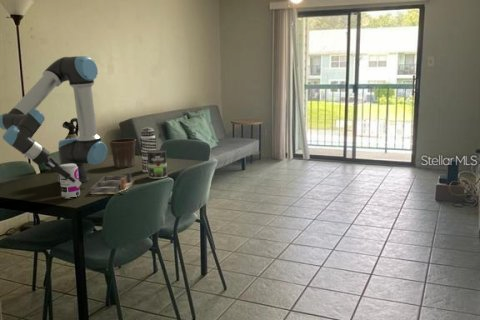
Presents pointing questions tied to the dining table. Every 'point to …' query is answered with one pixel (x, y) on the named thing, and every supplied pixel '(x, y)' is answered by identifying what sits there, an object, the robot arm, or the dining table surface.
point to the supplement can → (66, 186)
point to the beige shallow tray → (112, 184)
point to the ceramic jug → (71, 128)
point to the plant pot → (123, 152)
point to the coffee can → (157, 164)
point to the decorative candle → (147, 145)
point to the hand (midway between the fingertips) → (77, 183)
